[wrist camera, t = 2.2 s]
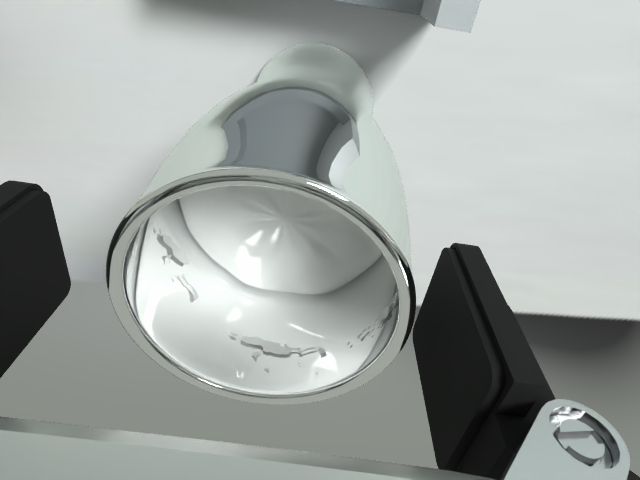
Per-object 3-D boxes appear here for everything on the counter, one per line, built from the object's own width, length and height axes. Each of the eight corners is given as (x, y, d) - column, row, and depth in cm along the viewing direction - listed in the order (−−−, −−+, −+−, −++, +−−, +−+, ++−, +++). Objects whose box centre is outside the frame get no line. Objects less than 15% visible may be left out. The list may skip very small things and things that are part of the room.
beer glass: (301, 192, 24) (247, 440, 12) (217, 91, 21) (26, 276, 9) (408, 123, 22) (485, 346, 9) (328, -4, 19) (282, 70, 6)
